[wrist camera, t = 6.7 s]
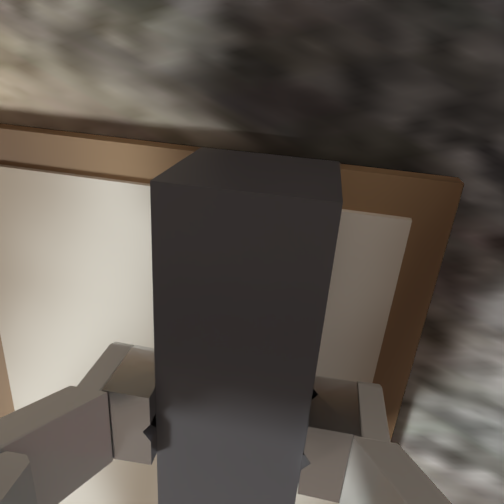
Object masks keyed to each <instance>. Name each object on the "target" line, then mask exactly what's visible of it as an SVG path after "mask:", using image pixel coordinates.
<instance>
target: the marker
mask: <svg viewBox="0 0 504 504" xmlns="http://www.w3.org/2000/svg"><path fill="white" fill-rule="evenodd" d="M150 199H151V240H152V280H153V321H154V362H155V386H156V406H157V412H156V428H157V484H158V504H295V500H296V494H297V488H298V481H299V473H300V466H301V459H302V455H303V450H304V442H305V434H306V428H307V422H308V416H309V412H310V406H311V400H312V394H313V387H314V381H315V375H316V369H317V362H318V356H319V350H320V343H321V337H322V331H323V325H324V318H325V312H326V306H327V300H328V293H329V287H330V281H331V275H332V268H333V262H334V256H335V250H336V243H337V237H338V231H339V225H340V218H341V212H342V206H343V197H342V184H341V170H340V161H330V160H320V159H311V158H301V157H291V156H282V155H272V154H262V153H253V152H243V151H233V150H224V149H214V148H204V147H201V148H199V149H198V150H196V151H195V152H193V153H192V154H190V155H189V156H187V157H186V158H184V159H182V160H181V161H179V162H178V163H176V164H175V165H173V166H172V167H170V168H169V169H167V170H166V171H164V172H163V173H161V174H160V175H158V176H156V177H155V178H153V179H152V180H150Z"/></svg>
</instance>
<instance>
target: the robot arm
mask: <svg viewBox="0 0 504 504" xmlns="http://www.w3.org/2000/svg"><path fill="white" fill-rule="evenodd" d="M156 412H157V406H156V386H155V362H154V348H150V347H144V346H139V345H132V344H126V343H121V342H113V343H111V344H110V345H109V346H108V347H107V349H106V350H105V351H104V352H103V354H102V355H101V356H100V357H99V359H98V360H97V361H96V362H95V364H94V365H93V366H92V368H91V369H90V370H89V371H88V373H87V374H86V375H85V376H84V378H83V379H82V380H81V381H80V383H79V384H78V385H77V387H76V386H68V387H66V388H64V389H62V390H59V391H57V392H55V393H53V394H51V395H49V396H46V397H44V398H42V399H40V400H38V401H36V402H33V403H31V404H29V405H27V406H25V407H23V408H21V409H18V410H16V411H14V412H12V413H10V414H8V415H5V416H3V417H1V418H0V504H59V503H60V502H61V501H62V500H64V499H65V498H66V497H68V496H69V495H70V494H71V493H73V492H74V491H75V490H76V489H78V488H79V487H80V486H82V485H83V484H84V483H85V482H87V481H88V480H89V479H91V478H92V477H93V476H94V475H96V474H97V473H98V472H100V471H101V470H102V469H103V468H105V467H106V466H107V465H109V464H110V463H111V462H112V461H113V459H118V460H124V461H130V462H136V463H142V464H148V465H152V463H153V461H154V458H155V456H156V454H157V428H156ZM298 494H301V495H305V496H309V497H314V498H318V499H323V500H327V501H332V502H336V503H339V504H452V503H451V502H450V501H449V500H448V499H447V498H446V497H445V496H444V494H443V493H442V492H441V491H440V490H439V489H438V488H437V487H436V485H435V484H434V483H433V482H432V481H431V480H430V479H429V478H428V477H427V475H426V474H425V473H424V472H423V471H422V470H421V469H420V468H419V467H418V465H417V464H416V463H415V462H414V461H413V460H412V459H411V458H410V456H409V455H408V454H407V453H406V452H405V451H404V450H403V449H402V448H401V446H400V445H399V444H397V443H392V442H391V441H390V435H389V428H388V422H387V416H386V409H385V403H384V397H383V390H382V387H381V385H380V384H374V383H367V382H360V381H357V382H355V381H349V380H342V379H336V378H329V377H323V376H317V375H315V381H314V387H313V394H312V400H311V406H310V412H309V416H308V422H307V428H306V434H305V442H304V450H303V455H302V459H301V466H300V473H299V481H298Z"/></svg>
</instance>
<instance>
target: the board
mask: <svg viewBox="0 0 504 504" xmlns="http://www.w3.org/2000/svg"><path fill="white" fill-rule="evenodd" d="M199 148H201V147H195V146H187V145H178V144H170V143H161V142H153V141H144V140H136V139H127V138H119V137H110V136H102V135H93V134H85V133H76V132H68V131H59V130H51V129H43V128H34V127H26V126H17V125H9V124H0V418H1V417H3V416H5V415H8V414H10V413H12V412H14V411H16V410H18V409H21V408H23V407H25V406H27V405H29V404H31V403H33V402H36V401H38V400H40V399H42V398H44V397H46V396H49V395H51V394H53V393H55V392H57V391H59V390H62V389H64V388H66V387H68V386H76V387H77V385H78V384H79V383H80V381H81V380H82V379H83V378H84V376H85V375H86V374H87V373H88V371H89V370H90V369H91V368H92V366H93V365H94V364H95V362H96V361H97V360H98V359H99V357H100V356H101V355H102V354H103V352H104V351H105V350H106V349H107V347H108V346H109V345H110V344H111V343H113V342H121V343H126V344H132V345H139V346H144V347H150V348H154V321H153V280H152V240H151V199H150V180H152V179H153V178H155V177H156V176H158V175H160V174H161V173H163V172H164V171H166V170H167V169H169V168H170V167H172V166H173V165H175V164H176V163H178V162H179V161H181V160H182V159H184V158H186V157H187V156H189V155H190V154H192V153H193V152H195V151H196V150H198V149H199ZM340 170H341V184H342V197H343V206H342V212H341V218H340V225H339V231H338V237H337V243H336V250H335V256H334V262H333V268H332V275H331V281H330V287H329V293H328V300H327V306H326V312H325V318H324V325H323V331H322V337H321V343H320V350H319V356H318V362H317V369H316V375H317V376H323V377H329V378H336V379H342V380H349V381H355V382H357V381H360V382H367V383H374V384H380V385H381V387H382V390H383V397H384V403H385V409H386V416H387V422H388V428H389V435H390V441H391V438H392V434H393V431H394V427H395V424H396V420H397V417H398V413H399V410H400V407H401V403H402V400H403V396H404V393H405V389H406V386H407V382H408V379H409V375H410V372H411V368H412V365H413V361H414V358H415V354H416V351H417V347H418V344H419V340H420V337H421V333H422V330H423V326H424V323H425V319H426V316H427V312H428V309H429V305H430V302H431V298H432V295H433V291H434V288H435V284H436V281H437V277H438V274H439V270H440V267H441V263H442V260H443V256H444V253H445V249H446V246H447V243H448V239H449V236H450V232H451V229H452V225H453V222H454V218H455V215H456V211H457V208H458V204H459V201H460V197H461V194H462V190H463V187H464V183H463V182H462V181H461V180H460V179H459V178H458V177H450V176H441V175H433V174H424V173H416V172H407V171H399V170H390V169H382V168H373V167H365V166H356V165H348V164H340ZM59 504H158V484H157V454H156V456H155V458H154V461H153V463H152V465H148V464H142V463H136V462H130V461H124V460H118V459H113V461H112V462H111V463H110V464H109V465H107V466H106V467H105V468H103V469H102V470H101V471H100V472H98V473H97V474H96V475H94V476H93V477H92V478H91V479H89V480H88V481H87V482H85V483H84V484H83V485H82V486H80V487H79V488H78V489H76V490H75V491H74V492H73V493H71V494H70V495H69V496H68V497H66V498H65V499H64V500H62V501H61V502H60V503H59ZM295 504H339V503H336V502H332V501H327V500H323V499H318V498H314V497H309V496H305V495H301V494H298V488H297V494H296V500H295Z"/></svg>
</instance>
